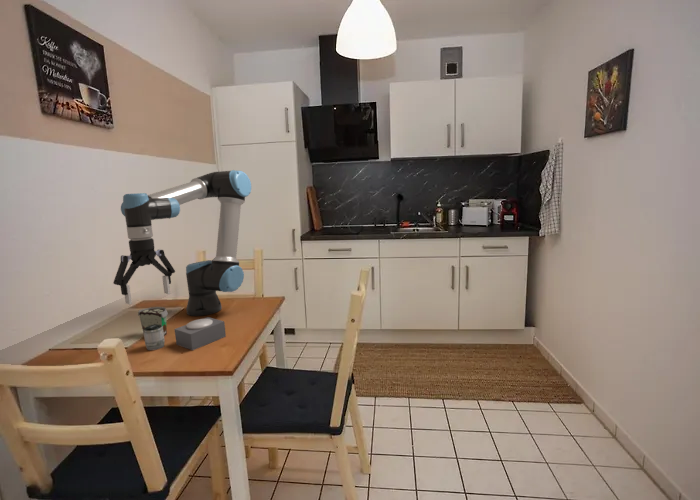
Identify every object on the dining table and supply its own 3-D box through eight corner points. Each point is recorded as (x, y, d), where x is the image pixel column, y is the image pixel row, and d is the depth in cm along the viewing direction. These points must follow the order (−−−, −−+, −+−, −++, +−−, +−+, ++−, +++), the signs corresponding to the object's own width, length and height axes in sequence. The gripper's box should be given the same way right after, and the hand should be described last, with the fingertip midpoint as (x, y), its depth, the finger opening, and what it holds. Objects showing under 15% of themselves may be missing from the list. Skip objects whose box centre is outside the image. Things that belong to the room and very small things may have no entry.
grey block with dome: (175, 344, 138) (172, 326, 137) (208, 331, 149) (206, 314, 148) (192, 350, 132) (190, 332, 131) (225, 336, 143) (224, 319, 142)
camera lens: (169, 344, 138) (166, 324, 136) (153, 351, 132) (151, 330, 131) (157, 342, 140) (154, 322, 139) (141, 349, 135) (138, 328, 133)
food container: (177, 331, 150) (174, 307, 149) (165, 337, 145) (162, 312, 143) (153, 329, 154) (150, 305, 153) (140, 334, 149) (137, 310, 147)
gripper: (106, 244, 117) (116, 310, 121) (180, 234, 137) (187, 290, 141) (95, 243, 121) (105, 306, 125) (169, 233, 142) (175, 288, 145)
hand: (148, 298), depth 133 cm, fingers open, 13 cm apart
